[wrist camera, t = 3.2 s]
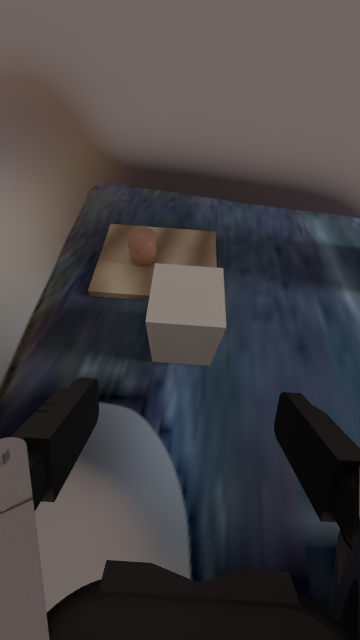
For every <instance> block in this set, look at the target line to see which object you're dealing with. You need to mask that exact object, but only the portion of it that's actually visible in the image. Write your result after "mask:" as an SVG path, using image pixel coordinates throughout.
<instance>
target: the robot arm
mask: <svg viewBox="0 0 360 640" xmlns="http://www.w3.org/2000/svg"><path fill="white" fill-rule="evenodd" d="M98 415H99V389H98V380H97V379H92V378H78V379H77V380H76V381H75V382H74V383H73V384H72V385H71V386H70V387H69V389H65V388H64V389H62V390H60V391H59V392H57V393H55V394H53V395H52V396H51V397H50V398H49V399H48V400H47V401H46V402H45V403H44V405H42V406H41V407H40V408H39V409H38V410H37V412H35V413H34V414H33V415H32V416H31V417H30V418H29V419H28V420H27V421H26V422H25V423H24V424H23V425H22V426H21V427H20V428H19V429H18V430H17V431H16V432H15V433H14V434H13V435H12V436H11V437H9V438H2V439H0V640H360V449H359V447H358V446H357V445H356V444H355V443H354V442H353V441H352V440H351V439H350V438H349V437H348V436H347V435H346V434H344V432H343V431H342V430H341V429H340V428H339V426H336V423H335V422H334V421H333V420H332V419H331V418H330V417H329V416H328V415H327V414H326V413H324V412H323V411H321V410H320V409H318V408H317V407H315V406H312V405H311V403H310V402H309V401H308V400H307V399H306V398H305V397H304V396H303V395H302V394H300V393H287V392H282V393H281V394H280V397H279V402H278V407H277V412H276V417H275V423H274V430H275V435H276V438H277V440H278V442H279V444H280V446H281V448H282V450H283V452H284V453H285V455H286V457H287V459H288V461H289V463H290V465H291V467H292V468H293V470H294V472H295V474H296V476H297V478H298V480H299V482H300V483H301V485H302V487H303V489H304V491H305V493H306V495H307V497H308V498H309V500H310V502H311V504H312V506H313V508H314V510H315V512H316V513H317V515H318V517H319V519H320V521H324V522H337V524H338V526H339V527H340V531H339V534H338V539H337V550H336V561H335V572H334V583H333V594H332V603H331V609H330V614H329V613H328V612H327V611H325V610H324V609H322V608H321V607H319V606H318V605H317V604H315V603H314V602H312V601H310V600H308V599H306V598H305V597H303V596H301V595H298V594H296V591H295V588H294V585H293V582H292V579H291V577H290V574H289V572H278V571H263V570H248V569H243V570H240V571H237V572H234V573H230V574H227V575H224V576H220V577H217V578H214V579H211V580H207V581H204V582H196V581H193V580H190V579H188V578H186V577H183V576H181V575H178V574H176V573H174V572H171V571H169V570H167V569H164V568H162V567H160V566H157V565H155V564H152V563H143V562H127V561H113V560H112V561H111V560H107V561H106V564H105V568H104V573H103V576H102V579H101V580H98V581H95V582H92V583H90V584H88V585H85V586H83V587H81V588H80V589H78V590H76V591H74V592H73V593H71V594H70V595H68V596H67V597H65V598H64V599H63V600H61V601H60V602H59V603H57V604H56V605H55V606H54V607H53V608H52V609H51V610H50V611H48V612H47V613H46V606H45V598H44V589H43V580H42V572H41V564H40V555H39V546H38V538H37V529H36V521H35V510H36V509H37V507H38V505H39V503H40V502H41V501H47V502H54V501H55V499H56V497H57V496H58V494H59V492H60V490H61V488H62V487H63V485H64V483H65V481H66V479H67V477H68V475H69V474H70V472H71V470H72V468H73V466H74V464H75V462H76V461H77V459H78V457H79V455H80V453H81V451H82V450H83V448H84V446H85V444H86V442H87V440H88V438H89V437H90V435H91V433H92V431H93V429H94V427H95V425H96V423H97V420H98Z"/></svg>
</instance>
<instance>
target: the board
mask: <svg viewBox="0 0 360 640" xmlns="http://www.w3.org/2000/svg"><path fill="white" fill-rule="evenodd" d="M136 227H146V226H133V225H119V224H111V225H110V227H109V230H108V233H107V236H106V239H105V242H104V245H103V248H102V251H101V254H100V257H99V260H98V263H97V265H96V268H95V271H94V274H93V277H92V280H91V283H90V286H89V289H88V293H89V295H90V296H96V297H109V298H123V299H137V300H149V297H150V291H151V285H152V278H153V272H154V266H155V263H159V264H172V265H186V266H200V267H213V268H217V264H216V232H214V231H200V230H187V229H173V228H160V227H148V228H150V229H152V230H153V231H154V232H155V234H156V246H157V260H156V262H155V263H154V264H152V265H150V266H146V267H140V266H137V265H135V264H134V263H133V262H132V261H131V257H130V252H129V247H128V241H127V234H128V232H129V231H130V230H131V229H133V228H136Z"/></svg>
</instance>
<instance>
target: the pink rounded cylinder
mask: <svg viewBox="0 0 360 640" xmlns="http://www.w3.org/2000/svg"><path fill="white" fill-rule="evenodd" d="M127 241H128V247H129V252H130V257H131V261H132V262H133V263H134V264H135V265H137V266H140V267H146V266H150V265H152V264H154V263H155V262H156V260H157V246H156V234H155V232H154V231H153V230H152V229H150V228H148V227H136V228H133V229H131V230H130V231H129V232H128V234H127Z"/></svg>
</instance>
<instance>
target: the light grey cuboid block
mask: <svg viewBox="0 0 360 640" xmlns="http://www.w3.org/2000/svg"><path fill="white" fill-rule="evenodd" d="M146 328H147V334H148V339H149V345H150V351H151V356H152V362H161V363H175V364H189V365H203V366H210V364H211V361H212V359H213V357H214V355H215V352H216V350H217V348H218V345H219V343H220V341H221V339H222V336H223V334H224V332H225V329H226V314H225V294H224V274H223V268H213V267H200V266H186V265H172V264H159V263H155V266H154V272H153V278H152V285H151V291H150V297H149V303H148V309H147V316H146Z"/></svg>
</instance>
